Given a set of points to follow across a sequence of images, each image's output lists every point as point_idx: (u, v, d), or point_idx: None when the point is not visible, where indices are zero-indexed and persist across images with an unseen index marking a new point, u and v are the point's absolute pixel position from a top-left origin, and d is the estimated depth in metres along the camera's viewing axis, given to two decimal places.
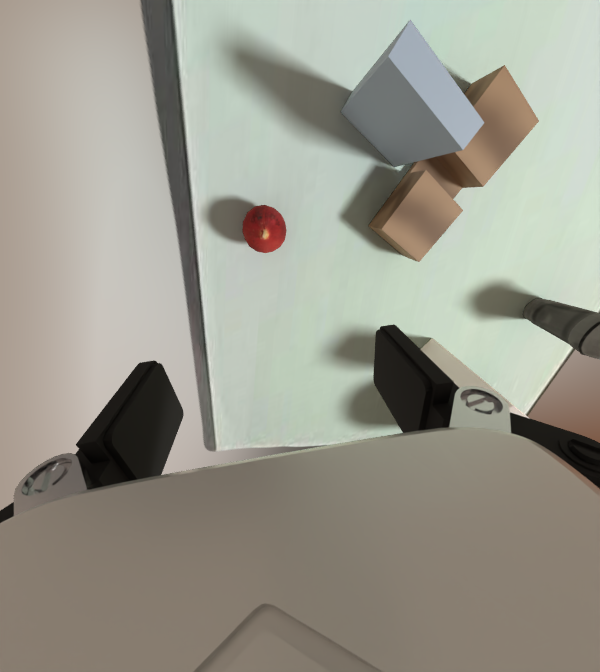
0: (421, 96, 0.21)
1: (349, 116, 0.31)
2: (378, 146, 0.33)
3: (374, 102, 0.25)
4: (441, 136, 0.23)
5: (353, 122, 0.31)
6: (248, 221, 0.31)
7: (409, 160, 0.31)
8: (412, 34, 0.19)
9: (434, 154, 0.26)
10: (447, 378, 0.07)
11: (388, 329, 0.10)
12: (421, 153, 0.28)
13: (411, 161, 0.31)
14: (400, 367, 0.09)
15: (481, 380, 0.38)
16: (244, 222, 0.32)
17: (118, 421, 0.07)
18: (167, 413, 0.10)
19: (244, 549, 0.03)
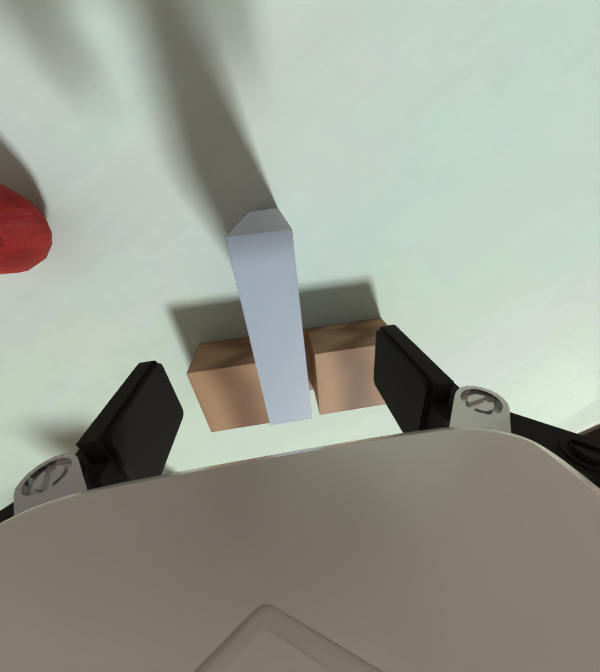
0: (248, 332, 0.11)
1: None
2: None
3: None
4: None
5: None
6: None
7: None
8: (283, 249, 0.09)
9: None
10: (447, 379, 0.07)
11: (388, 329, 0.10)
12: None
13: None
14: (400, 367, 0.09)
15: None
16: None
17: (118, 421, 0.07)
18: (167, 413, 0.10)
19: (244, 549, 0.03)
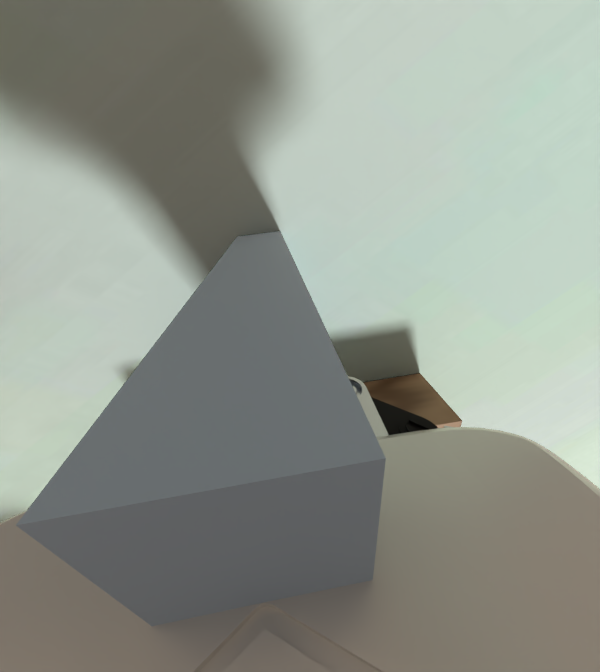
0: None
1: None
2: None
3: None
4: None
5: None
6: None
7: None
8: (332, 518, 0.02)
9: None
10: None
11: None
12: None
13: None
14: None
15: None
16: None
17: None
18: None
19: None
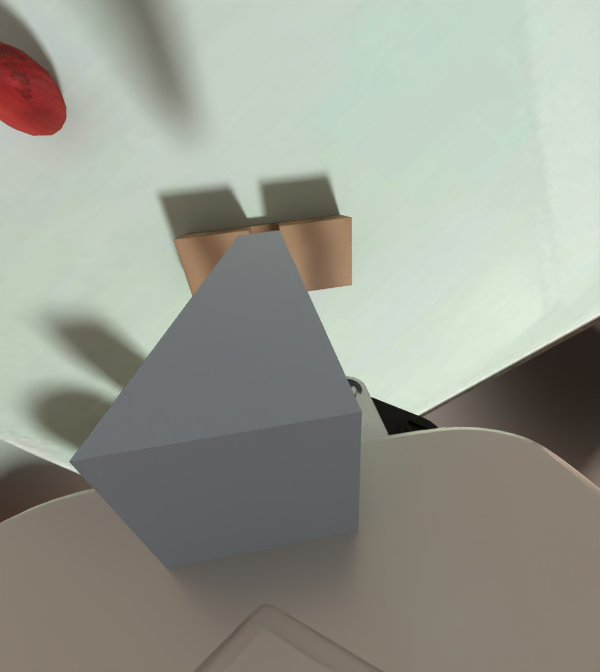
0: None
1: None
2: None
3: None
4: None
5: None
6: None
7: None
8: (320, 466, 0.02)
9: None
10: None
11: None
12: None
13: None
14: None
15: None
16: None
17: None
18: None
19: None
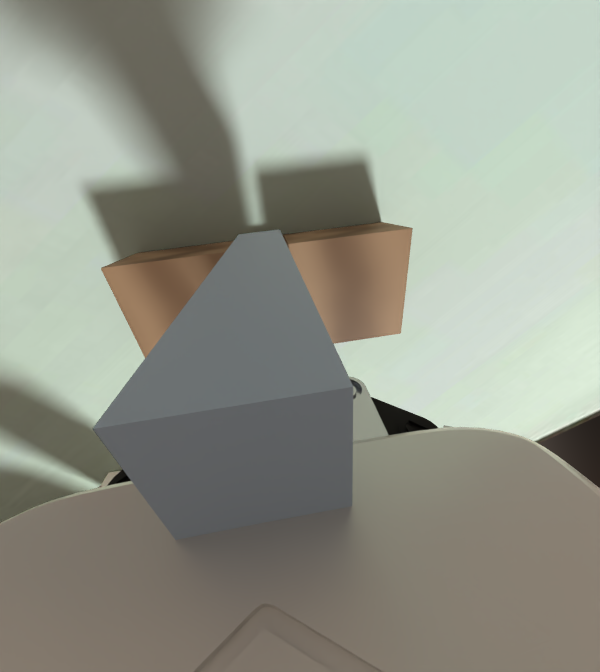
0: None
1: None
2: None
3: None
4: None
5: None
6: None
7: None
8: (316, 440, 0.03)
9: None
10: None
11: None
12: None
13: None
14: None
15: None
16: None
17: None
18: None
19: (244, 549, 0.03)
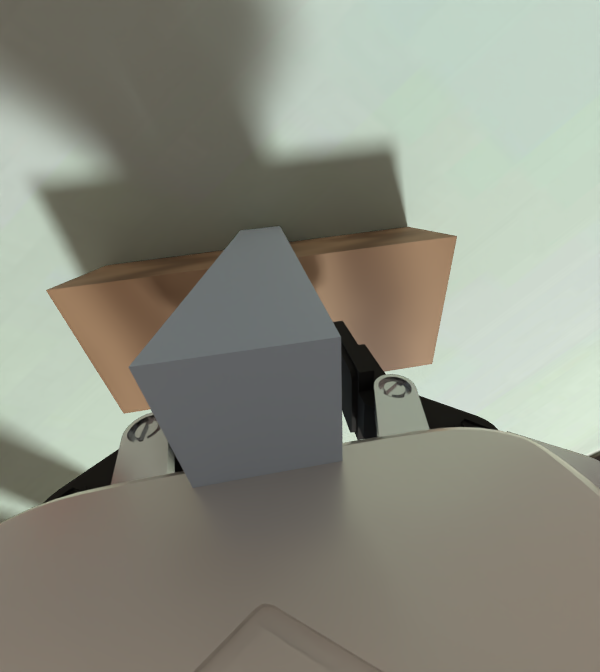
0: None
1: None
2: None
3: None
4: None
5: None
6: None
7: None
8: (310, 385, 0.03)
9: None
10: (369, 367, 0.08)
11: (335, 325, 0.11)
12: None
13: None
14: None
15: None
16: None
17: None
18: None
19: (244, 549, 0.03)
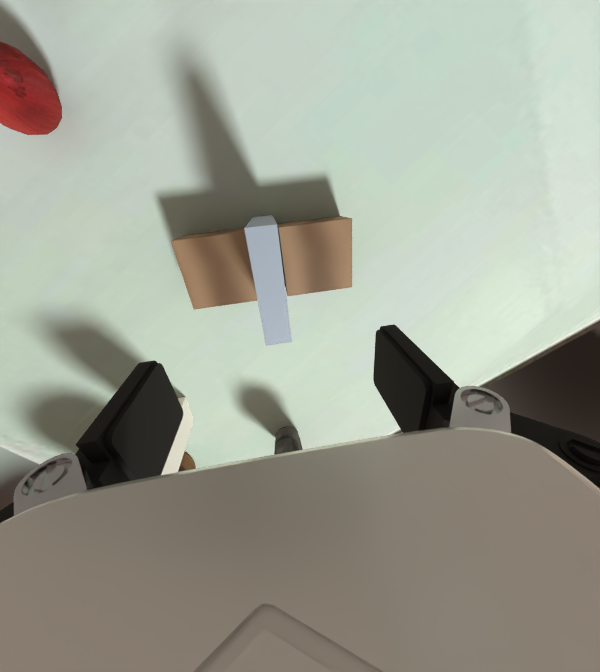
0: (254, 280, 0.20)
1: None
2: None
3: None
4: None
5: None
6: None
7: None
8: (272, 234, 0.18)
9: None
10: (447, 378, 0.07)
11: (388, 329, 0.10)
12: None
13: None
14: (400, 367, 0.09)
15: None
16: None
17: (118, 421, 0.07)
18: (167, 413, 0.10)
19: (244, 549, 0.03)
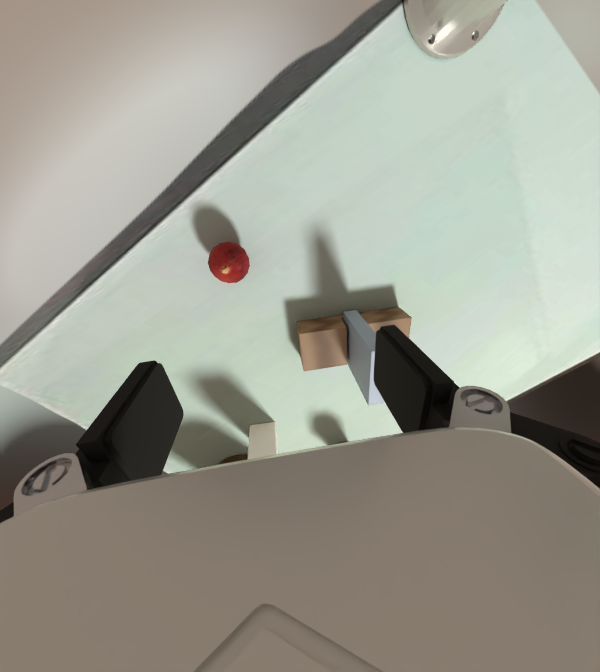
0: (370, 374, 0.36)
1: (345, 319, 0.46)
2: None
3: (356, 340, 0.40)
4: (366, 390, 0.39)
5: (344, 322, 0.46)
6: (222, 249, 0.34)
7: (350, 368, 0.47)
8: None
9: (359, 386, 0.42)
10: (447, 378, 0.07)
11: (388, 329, 0.10)
12: (356, 377, 0.43)
13: (351, 369, 0.47)
14: (400, 367, 0.09)
15: None
16: (219, 246, 0.35)
17: (118, 421, 0.07)
18: (167, 413, 0.10)
19: (244, 549, 0.03)
